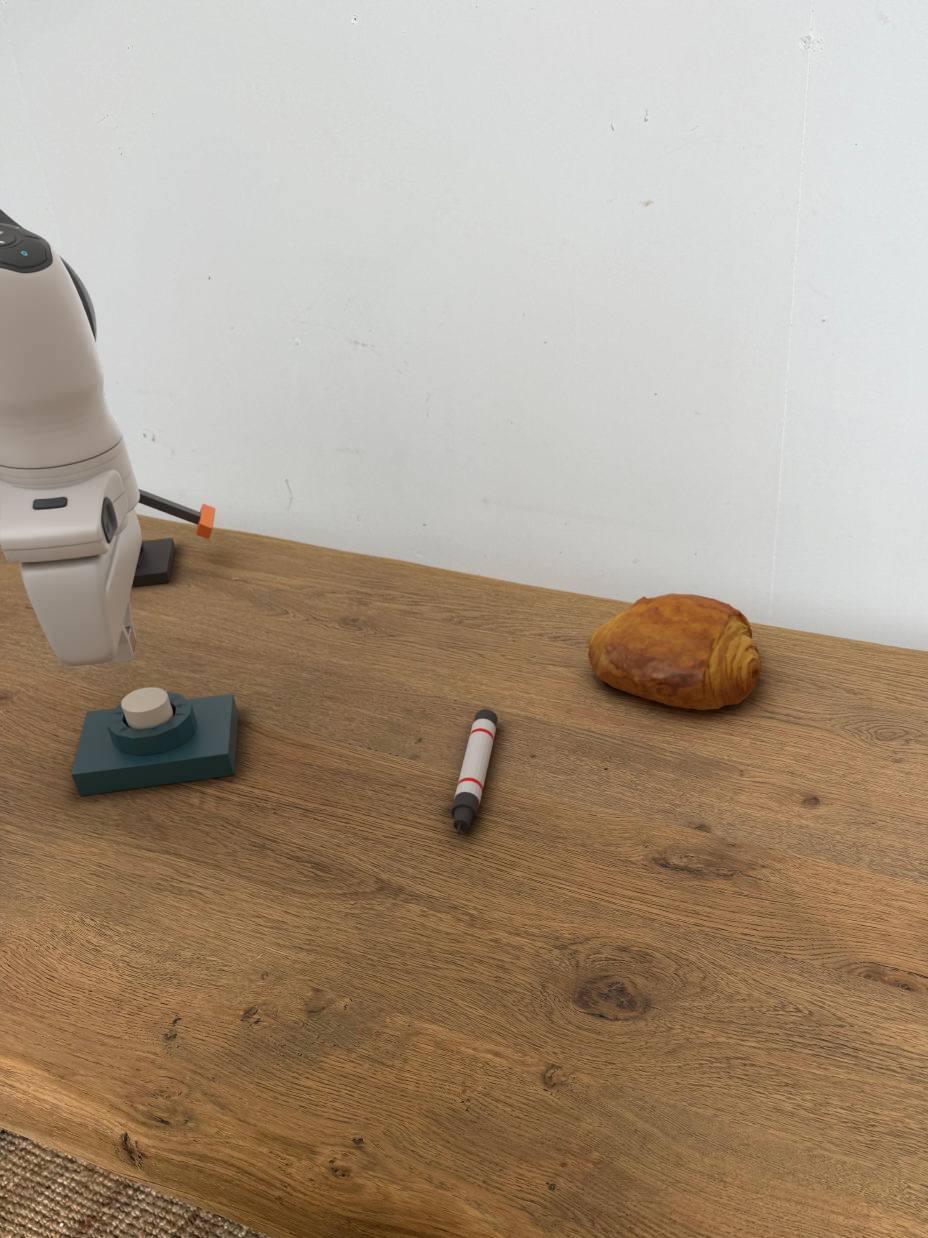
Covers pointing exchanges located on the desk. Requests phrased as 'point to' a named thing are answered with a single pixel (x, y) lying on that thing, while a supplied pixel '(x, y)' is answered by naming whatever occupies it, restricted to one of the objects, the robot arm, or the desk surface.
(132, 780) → the block
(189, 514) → the lever switch
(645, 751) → the desk surface
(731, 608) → the croissant
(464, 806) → the marker
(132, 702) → the power button
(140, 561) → the pivot lever stand
